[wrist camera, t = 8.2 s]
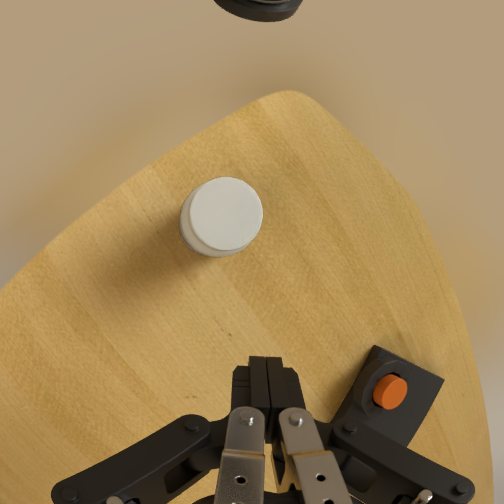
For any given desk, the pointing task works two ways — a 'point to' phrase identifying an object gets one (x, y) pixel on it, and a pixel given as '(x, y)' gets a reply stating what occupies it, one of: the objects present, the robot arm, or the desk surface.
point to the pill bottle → (220, 217)
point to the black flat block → (407, 412)
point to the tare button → (390, 391)
